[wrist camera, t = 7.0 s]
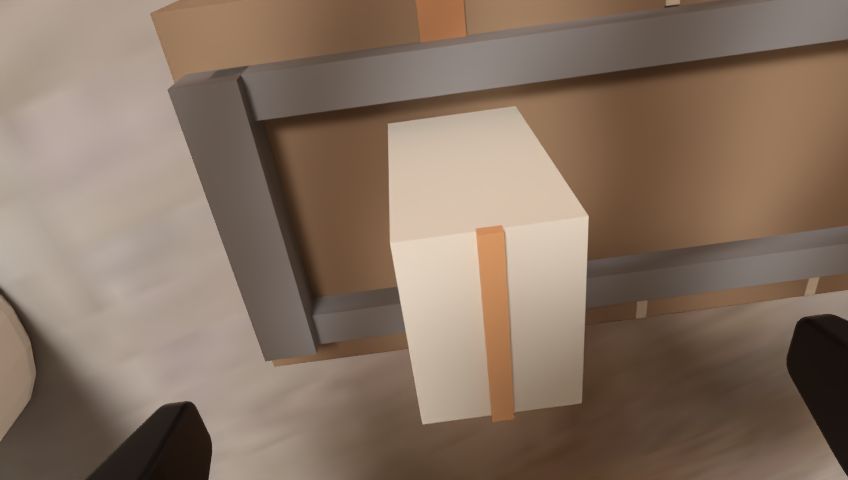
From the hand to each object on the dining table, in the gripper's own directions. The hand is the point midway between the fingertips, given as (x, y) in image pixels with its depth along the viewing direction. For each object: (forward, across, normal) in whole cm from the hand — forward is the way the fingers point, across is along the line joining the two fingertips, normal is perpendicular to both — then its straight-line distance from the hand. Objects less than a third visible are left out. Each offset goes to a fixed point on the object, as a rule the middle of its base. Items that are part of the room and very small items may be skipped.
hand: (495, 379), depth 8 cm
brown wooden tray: (+9, -5, 0) cm, 10 cm away
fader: (+7, 0, 0) cm, 7 cm away
